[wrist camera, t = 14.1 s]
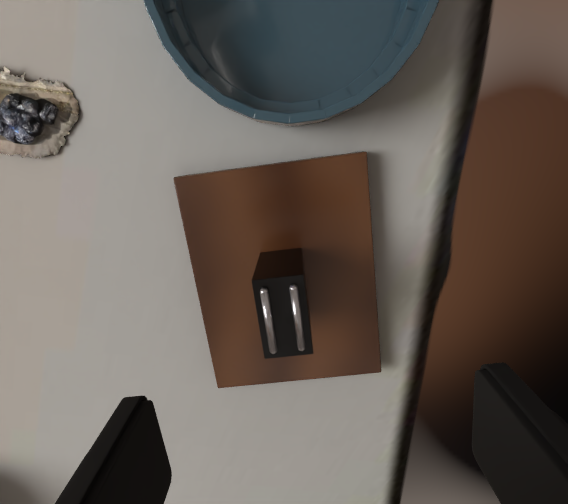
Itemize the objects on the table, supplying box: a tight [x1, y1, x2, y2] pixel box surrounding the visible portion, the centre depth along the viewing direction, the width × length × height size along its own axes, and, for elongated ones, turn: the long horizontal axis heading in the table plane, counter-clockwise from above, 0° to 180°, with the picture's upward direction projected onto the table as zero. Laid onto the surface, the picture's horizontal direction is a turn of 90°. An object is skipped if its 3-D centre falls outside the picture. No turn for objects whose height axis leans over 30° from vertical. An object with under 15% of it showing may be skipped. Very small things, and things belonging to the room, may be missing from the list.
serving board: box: [174, 152, 381, 388], centre depth 29 cm, size 14×18×1 cm
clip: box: [252, 248, 313, 359], centre depth 26 cm, size 3×6×6 cm, turn 7°
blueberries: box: [0, 67, 80, 159], centre depth 26 cm, size 7×8×2 cm
